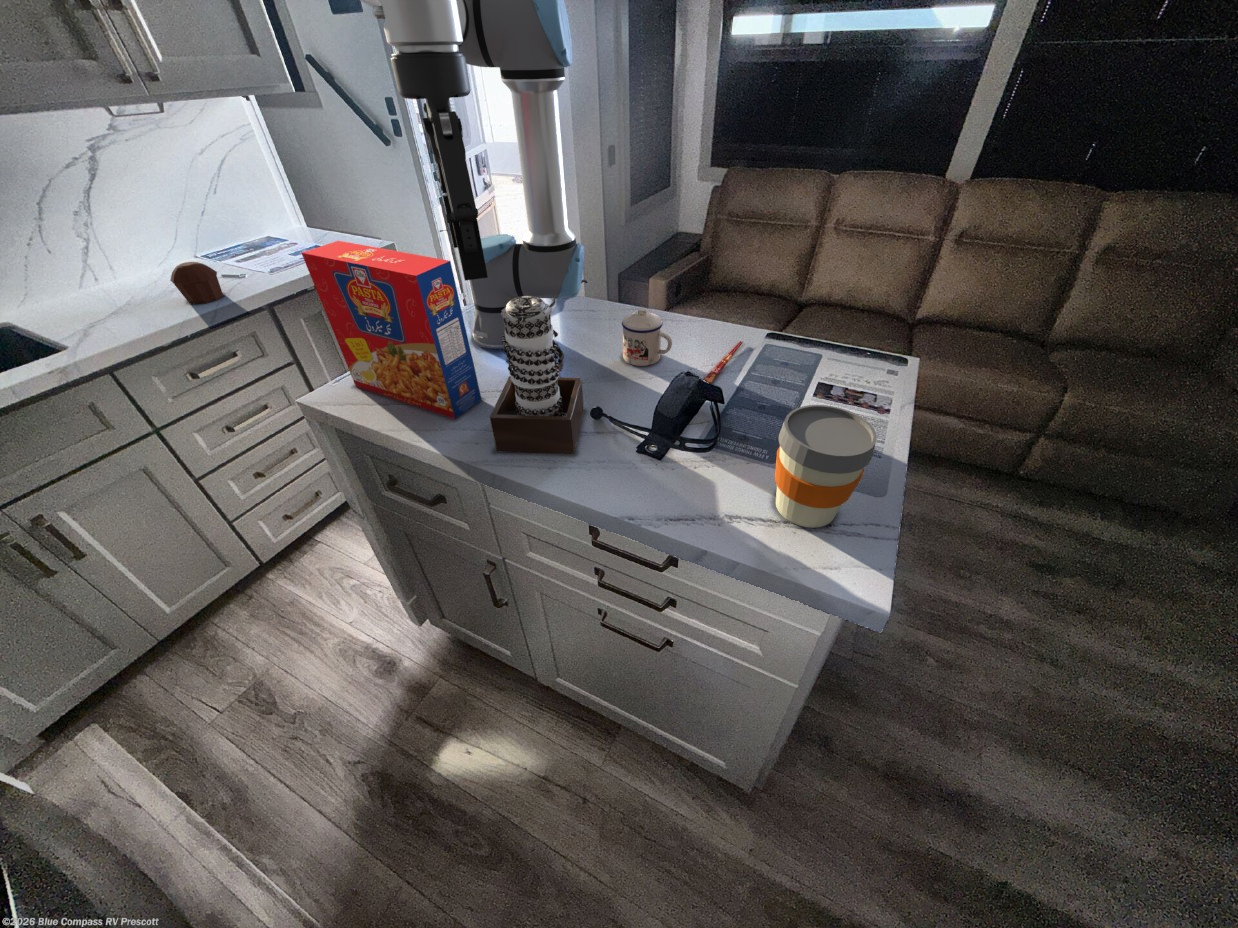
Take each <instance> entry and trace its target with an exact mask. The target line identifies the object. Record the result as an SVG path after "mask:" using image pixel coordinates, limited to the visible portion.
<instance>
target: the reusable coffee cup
mask: <svg viewBox="0 0 1238 928" xmlns="http://www.w3.org/2000/svg"><path fill="white" fill-rule="evenodd" d="M778 443H779V447H778V448H777V451H776V458H775V470H774V471H775V473H774V481H775V484H776V494H775V507H776V509H777V511H778V512H779V514H780V515H781V516H782V517H783V518H784V519H786V520H787V521H789V522H790V523H792V524H795V525H797V526H800V527H804V528H812V529H813V528H815V529H816V528H821V527H825V526H827V525H829V524H831V522H833V520H834V519H835V517H836V515H837V513H838V512H839V510H840V508H841V507H842V505H844V504H846V503H847V502H848V501H849V500H850V499H851V496H852V495H853V493H854V491H855V490H856V488H857V486H858V485H859V483H860V481H861V480H862V477H863V476H864V473H865V468H866V467H867V466H869V464H870V463H871V462H872V459H873V455H874V453H875V452H874V451H875V446H876V443H877V433H876V430H875V428H874V427H873V426H872V424H871V423H870V422H868V420H867V419H865V418H864V417H862V416H860V415H859V414H857V413H854V412H852V411H850V410H848V409H845V408H841V407H838V406H833V405H827V404H807V405H803V406H799V407H797V408H794V409H793V410H791V411H789V413H787V415H786V416H785V418H784V420H783V423H782V426H781V428H780V432H779V434H778Z"/></svg>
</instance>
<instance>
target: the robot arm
mask: <svg viewBox="0 0 1238 928" xmlns="http://www.w3.org/2000/svg"><path fill="white" fill-rule="evenodd" d="M359 1H360V2H363V3H364V4H366V5H368V6H369V7H371V8H372V14H373V17H374V18H375V19H377V20H384V22H383V25H382V27H383V31H384V35H385V39H386V43H387V44H388V45H389V46H390V47H394V49H395V53H391V57H390V63H391V67H392V71H393V76H394V80H395V83H396V89H397V91H398V94H399V95H400V97H402V98H404V99H408V100H425V102H424V103H423V106H422V107H423V112H424V113H425V116H426V117H421V122H422V126H423V131H424V134H425V137H426V138H427V141H428V145H429V151H430V153H431V155H433V159H434V162H435V166H436V171H437V175H438V178H437V181H438V183H439V184H440V186H439V187H440V191H441V192H442V194H441V195H442V201H443V205H444V209H445V218H446V224H448V228H449V233H450V236H451V241H452V245H453V246H452V247H453V249H456V248H457V251H458V255H459V261H460V265H461V270H462V273H463V278H464V281H465V282H466V281H468V282H469V286H470V291H471V295H472V300H473V304H474V316H473V325H472V336H473V337H472V339H473V342H474V343H475V345H476V346H478V347H479V348H482V349H484V350H490V351H504V350H503V349H504V345H503V344H502V340H503V338H502V335H503V334H505V333H504V332H505V326H504V319H503V317H502V315H501V311H502V310H503V309H504V308H505V307H506V306H507V304H508V302H510V301H511V300H512V299H515V298H517V297H522V296H534V297H538V298H540V299H552V302H551V303H550V304H548V305H549V306H550V307H551V308H552V307H554V306H555V305H556V299H557V300H561V299H574V298H576V297H578V295H579V293H580V291H581V286H582V284H583V283H584V284H588V281H587V280H586V279H583V274H584V263H585V248H584V245H583V244H581V243H580V242H577V238H576V237H577V236H576V233H575V232H574V231H573V230H572V229H571V228H570V227H569V222H568V210H567V209H568V208H567V196H566V194H567V193H566V183H565V170H564V157H563V156H564V155H563V142H562V130H561V118H560V116H561V115H560V103H559V89H560V87H562V85H563V83H564V81H565V80H566V72H565V68H566V69H567V68H568V67H570V66H572V64H573V59H574V58H573V49H572V48H573V42H572V41H573V40H572V34H571V28H570V21H569V16H568V11H567V7H566V3H565V0H359ZM468 65H469V66H474V67H478V68H499V71H500V79H501V82H502V83H503V84H504V85H505V86H506V87H507V89H509V91H510V93H511V100H512V109H513V116H514V125H515V132H516V139H517V147H518V148H517V149H518V156H519V163H520V165H519V166H520V171H521V181H522V187H523V189H522V190H523V197H524V204H525V205H524V206H525V212H526V213H525V215H526V220H527V221H526V222H527V230H526V232H525V233H524V235H522V243H517V239H515V236H514V235H512V234H509V233H500V234H494V235H493V234H492V235H489V236H485V237H481V233H480V228H479V227H480V226H479V222H478V218H479V210H478V208H477V207H476V206H477V205H476V202H475V201H476V200H475V196H474V192H473V187H472V183H471V182H472V181H471V178H470V174H469V169H468V165H467V154H466V147H465V143H464V139H463V137H464V132H463V125H462V120H461V118H460V117H459V115H457V112H456V111H454V110H452V105H451V102H450V101H451V100H450V99H452V98H463V97H468V96H469V95H470V94H471V90H472V89H471V84H470V83H471V82H470V78H469V77H470V76H469V73H468V71H469V70H468ZM506 342H507V341H506Z"/></svg>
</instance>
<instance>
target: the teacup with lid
mask: <svg viewBox="0 0 1238 928" xmlns="http://www.w3.org/2000/svg"><path fill="white" fill-rule="evenodd" d="M663 325H664V322H663V319H662V318H661V317H660V316H659V315H657V314H655V313H652V312H648V310H647V308H645V307H639V308H638V309H637V311H636V312H633V313H629V314H627V315H626V316H624V317H623V319H622V321H621V326H622V358H623V360H624V361H625V362H626V363H627V364H630V365H633V366H637V367H647V366H651V365H654V364H656V363H657V362H658V361H659V360H660V358H661V355H665V354H667V353H669V352H670V350H671V349H672V347H673V339H672V337H671V336H670V335H669V334H668V333H666V332H664V331H662V327H663ZM662 338H663V339H665V340H666V342H667V346H666V348H665V349H661V347H662V346H661V345H662Z"/></svg>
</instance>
